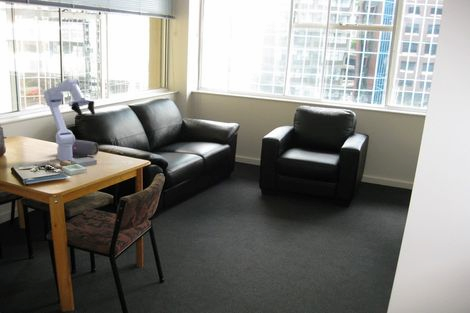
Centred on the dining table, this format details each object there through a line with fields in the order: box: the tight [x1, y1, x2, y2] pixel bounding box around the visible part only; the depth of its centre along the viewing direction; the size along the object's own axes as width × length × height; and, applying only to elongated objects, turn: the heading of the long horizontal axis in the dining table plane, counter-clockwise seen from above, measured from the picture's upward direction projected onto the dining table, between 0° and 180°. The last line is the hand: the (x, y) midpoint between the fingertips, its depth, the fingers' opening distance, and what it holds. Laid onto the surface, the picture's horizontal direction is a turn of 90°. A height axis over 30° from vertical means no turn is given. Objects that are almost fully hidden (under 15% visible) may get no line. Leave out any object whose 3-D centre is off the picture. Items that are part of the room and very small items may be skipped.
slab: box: [69, 156, 98, 167], centre depth 270 cm, size 9×12×3 cm
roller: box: [59, 160, 71, 168], centre depth 261 cm, size 6×4×4 cm, turn 47°
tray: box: [61, 164, 88, 176], centre depth 255 cm, size 10×9×2 cm
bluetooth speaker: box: [72, 139, 100, 158], centre depth 288 cm, size 23×9×10 cm, turn 76°
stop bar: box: [46, 161, 61, 169], centre depth 256 cm, size 12×2×3 cm, turn 47°
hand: (87, 114), depth 252 cm, fingers open, 7 cm apart
